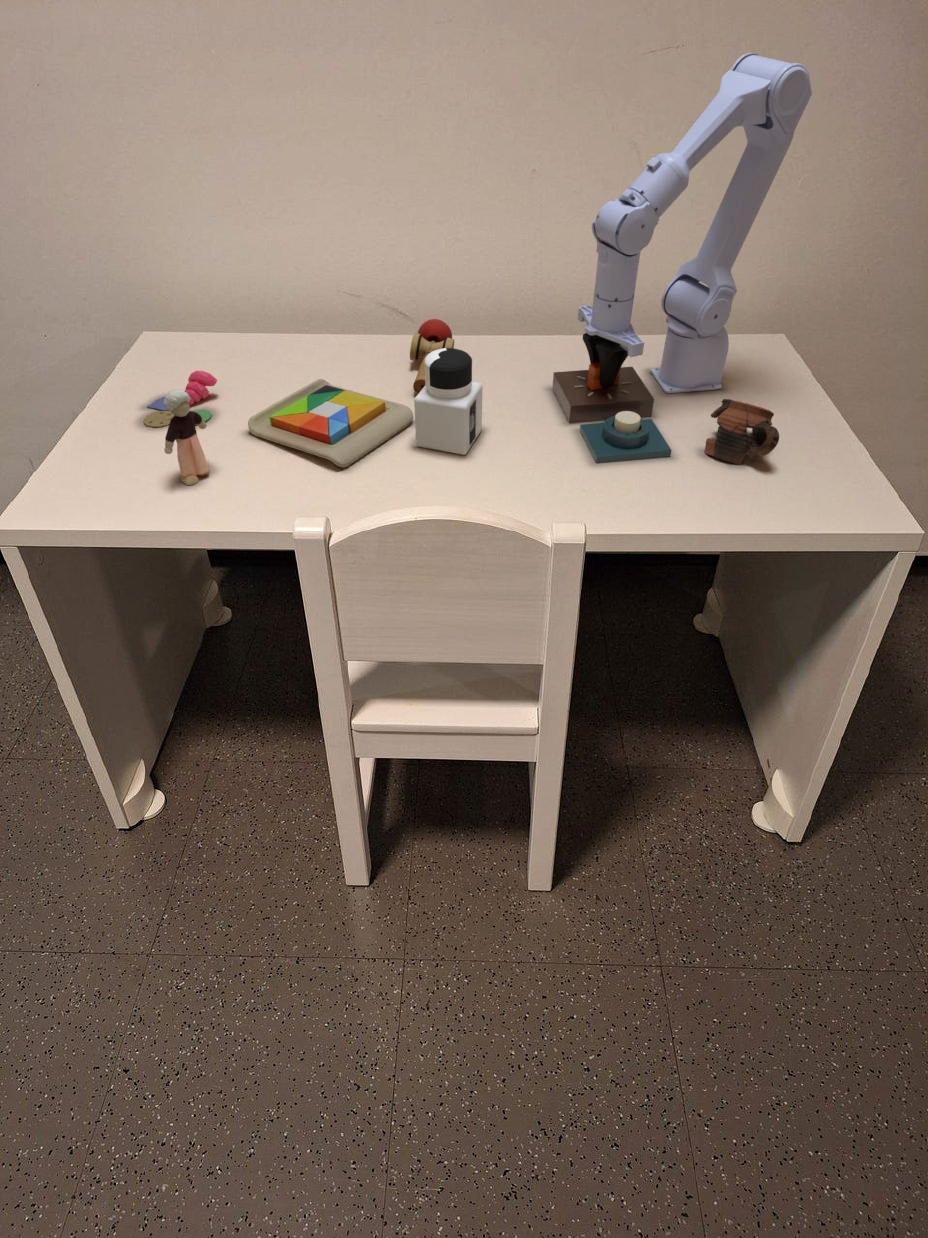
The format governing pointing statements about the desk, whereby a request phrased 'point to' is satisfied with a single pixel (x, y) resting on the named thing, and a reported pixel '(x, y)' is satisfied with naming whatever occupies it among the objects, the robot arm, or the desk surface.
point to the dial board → (601, 396)
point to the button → (627, 422)
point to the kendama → (429, 345)
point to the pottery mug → (742, 432)
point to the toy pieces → (195, 392)
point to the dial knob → (597, 376)
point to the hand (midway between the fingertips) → (603, 382)
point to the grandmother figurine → (185, 437)
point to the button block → (624, 442)
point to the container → (448, 403)
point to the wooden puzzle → (331, 422)
